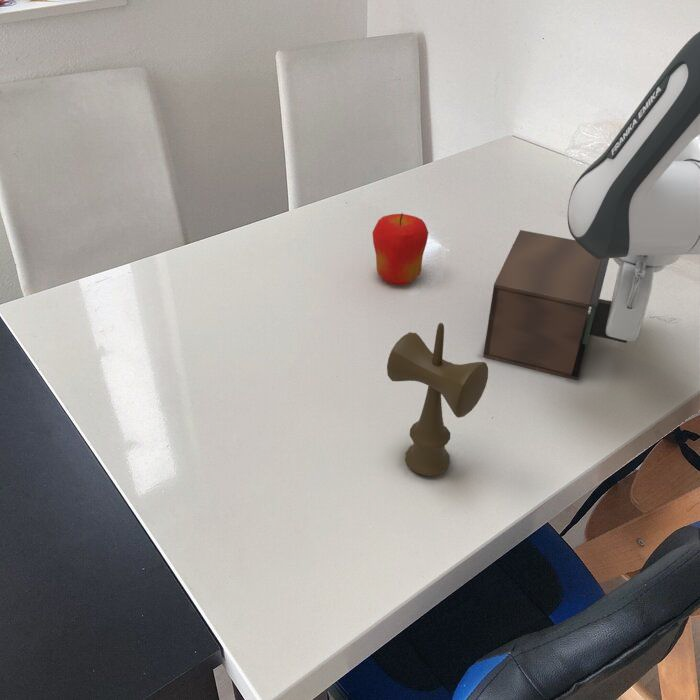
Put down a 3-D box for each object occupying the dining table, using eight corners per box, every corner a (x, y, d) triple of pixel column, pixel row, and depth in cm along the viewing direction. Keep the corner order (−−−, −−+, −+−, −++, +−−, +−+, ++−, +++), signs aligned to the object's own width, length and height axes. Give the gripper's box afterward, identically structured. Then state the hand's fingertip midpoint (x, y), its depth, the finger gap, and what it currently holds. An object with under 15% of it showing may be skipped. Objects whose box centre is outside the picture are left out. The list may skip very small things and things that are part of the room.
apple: (427, 267, 114) (432, 202, 107) (421, 294, 107) (426, 227, 100) (376, 262, 115) (378, 197, 108) (367, 288, 109) (368, 221, 101)
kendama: (447, 499, 75) (467, 357, 63) (378, 457, 80) (383, 318, 67) (476, 467, 79) (499, 327, 66) (408, 430, 83) (418, 293, 71)
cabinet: (593, 317, 102) (612, 246, 95) (577, 380, 91) (597, 305, 83) (508, 298, 106) (520, 229, 99) (482, 356, 95) (493, 283, 87)
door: (629, 321, 100) (648, 258, 94) (623, 353, 94) (643, 289, 88) (590, 312, 102) (606, 250, 96) (582, 343, 96) (598, 279, 89)
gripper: (669, 284, 74) (636, 380, 83) (676, 206, 89) (648, 295, 98) (609, 272, 76) (583, 367, 85) (626, 198, 91) (602, 285, 99)
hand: (618, 328), depth 91 cm, fingers closed
